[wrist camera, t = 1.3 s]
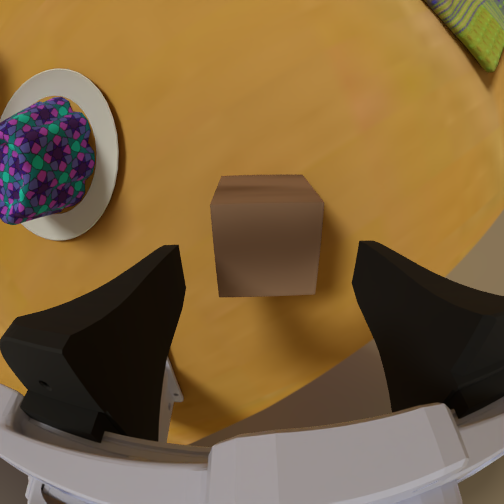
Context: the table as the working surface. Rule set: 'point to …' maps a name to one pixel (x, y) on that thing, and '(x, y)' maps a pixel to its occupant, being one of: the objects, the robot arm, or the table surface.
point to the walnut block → (266, 235)
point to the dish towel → (475, 26)
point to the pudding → (56, 155)
